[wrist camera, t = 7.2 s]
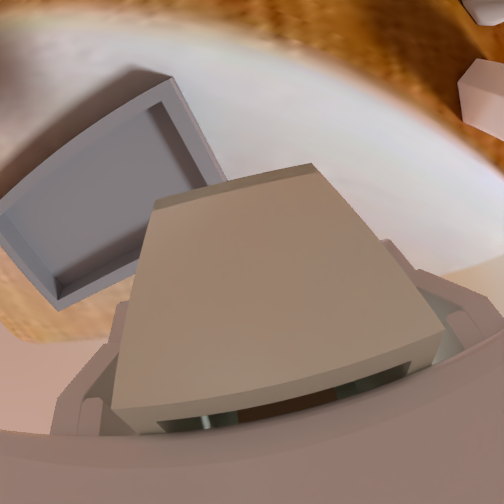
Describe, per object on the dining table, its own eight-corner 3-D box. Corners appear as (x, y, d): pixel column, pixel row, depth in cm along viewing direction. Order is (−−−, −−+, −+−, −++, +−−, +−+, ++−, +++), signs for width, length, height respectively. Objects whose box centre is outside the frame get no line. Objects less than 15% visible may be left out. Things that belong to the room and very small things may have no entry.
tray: (-5, 204, 24) (-19, 219, 22) (173, 76, 21) (169, 78, 19) (65, 293, 31) (58, 311, 29) (240, 206, 29) (244, 222, 26)
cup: (155, 199, 10) (107, 438, 3) (311, 163, 10) (462, 353, 4) (199, 311, 12) (211, 502, 6) (321, 282, 13) (397, 457, 6)
